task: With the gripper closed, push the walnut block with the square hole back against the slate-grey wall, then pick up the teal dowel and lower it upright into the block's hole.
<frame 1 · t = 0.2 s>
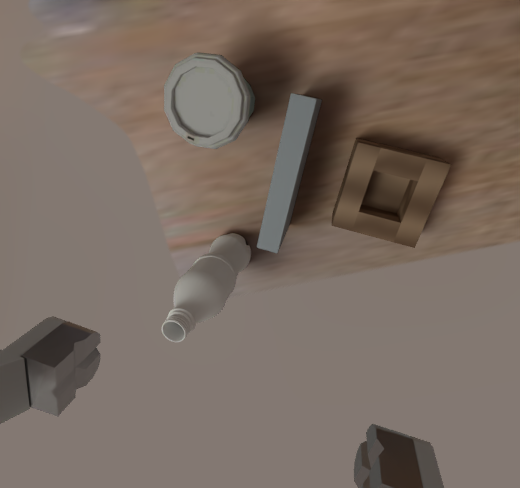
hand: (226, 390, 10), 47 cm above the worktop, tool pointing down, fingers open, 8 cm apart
socket block: (384, 191, 49), point 3 cm above the worktop, slide at 6.0 cm
disposable coffee cup: (237, 102, 52), on the worktop
wall: (295, 164, 54), on the worktop
water bottle: (235, 247, 62), on the worktop
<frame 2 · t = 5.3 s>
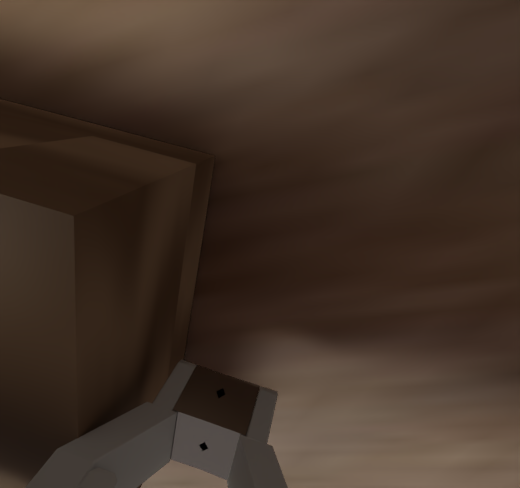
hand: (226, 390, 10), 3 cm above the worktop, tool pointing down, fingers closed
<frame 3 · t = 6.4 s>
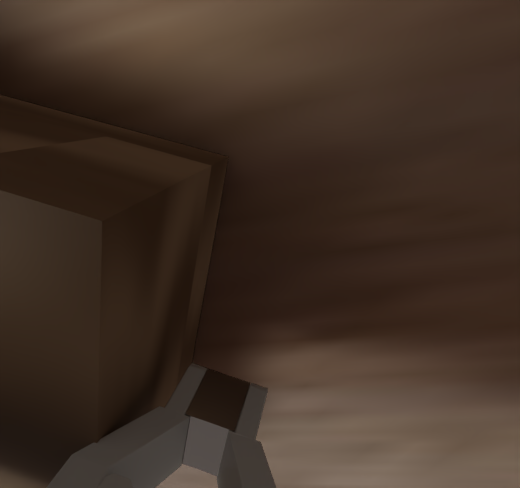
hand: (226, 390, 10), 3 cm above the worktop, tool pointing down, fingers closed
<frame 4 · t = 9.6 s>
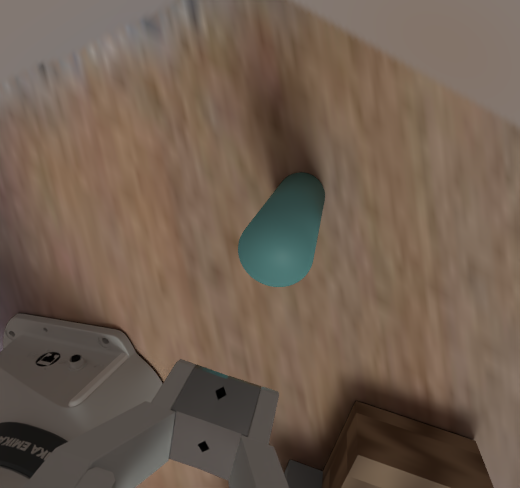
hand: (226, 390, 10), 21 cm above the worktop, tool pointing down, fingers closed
dowel: (300, 196, 29), on the worktop
socket block: (396, 485, 34), point 3 cm above the worktop, slide at 0.0 cm
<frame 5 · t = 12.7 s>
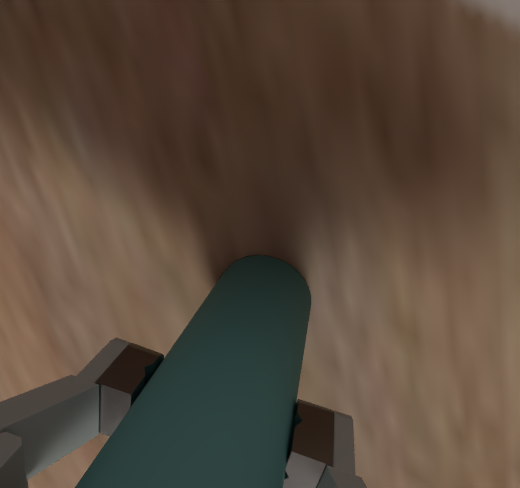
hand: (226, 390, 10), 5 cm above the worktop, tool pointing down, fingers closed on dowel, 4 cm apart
dowel: (263, 298, 14), on the worktop, touching gripper
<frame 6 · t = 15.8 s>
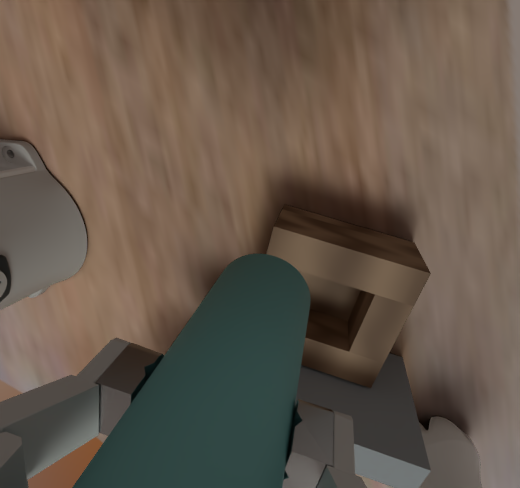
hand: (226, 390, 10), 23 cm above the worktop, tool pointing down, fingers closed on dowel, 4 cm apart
dowel: (262, 296, 14), point 18 cm above the worktop, touching gripper
socket block: (326, 294, 31), point 3 cm above the worktop, slide at 0.0 cm
wall: (305, 337, 37), on the worktop
water bottle: (433, 431, 39), on the worktop
when the fingers open (8 cm above the worktop, at t = 19.0 s): dowel drops 1 cm, resting on socket block.
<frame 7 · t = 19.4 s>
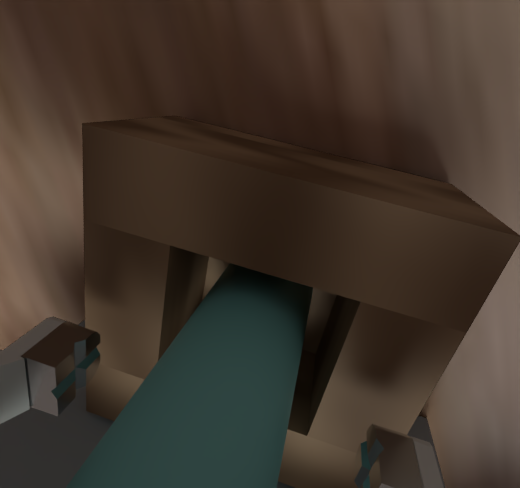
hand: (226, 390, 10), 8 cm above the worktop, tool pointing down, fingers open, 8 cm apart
dowel: (268, 284, 16), point 2 cm above the worktop, touching socket block
socket block: (262, 301, 14), point 3 cm above the worktop, slide at 0.0 cm, touching dowel
wall: (246, 379, 20), on the worktop
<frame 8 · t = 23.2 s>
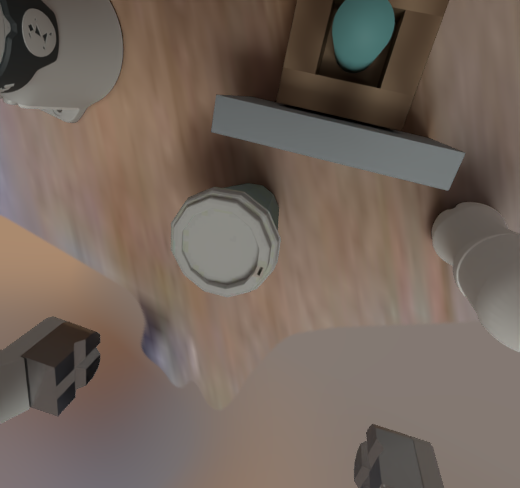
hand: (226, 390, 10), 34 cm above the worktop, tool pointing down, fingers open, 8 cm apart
dowel: (355, 50, 34), point 2 cm above the worktop, touching socket block
socket block: (356, 48, 32), point 3 cm above the worktop, slide at 0.0 cm, touching dowel
disposable coffee cup: (255, 205, 44), on the worktop
wall: (333, 130, 38), on the worktop
water bottle: (459, 226, 40), on the worktop
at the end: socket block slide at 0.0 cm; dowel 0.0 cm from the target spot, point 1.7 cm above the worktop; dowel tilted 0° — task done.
